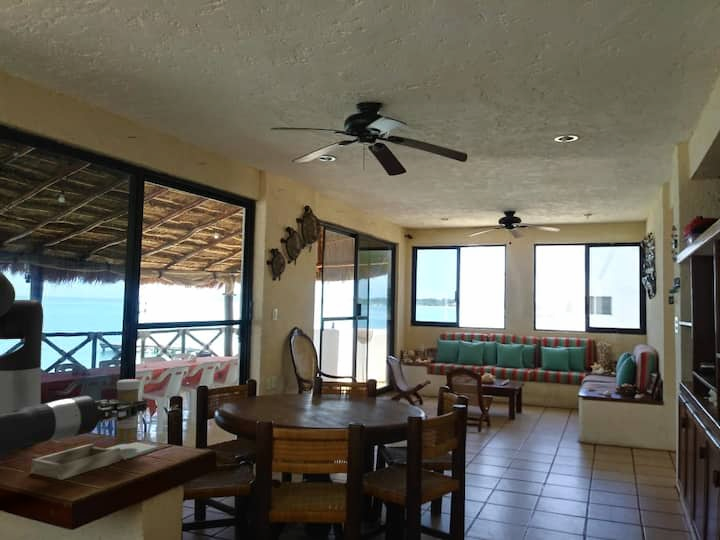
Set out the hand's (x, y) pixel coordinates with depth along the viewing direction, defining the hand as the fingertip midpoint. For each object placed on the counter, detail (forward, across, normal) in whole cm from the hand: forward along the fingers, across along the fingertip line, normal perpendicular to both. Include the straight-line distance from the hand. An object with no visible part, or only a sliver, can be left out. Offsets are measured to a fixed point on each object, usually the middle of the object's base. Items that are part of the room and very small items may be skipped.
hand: (137, 403), depth 127 cm
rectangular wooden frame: (-15, 0, +10) cm, 18 cm away
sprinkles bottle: (-3, 0, +8) cm, 8 cm away
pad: (-2, 0, +10) cm, 10 cm away
